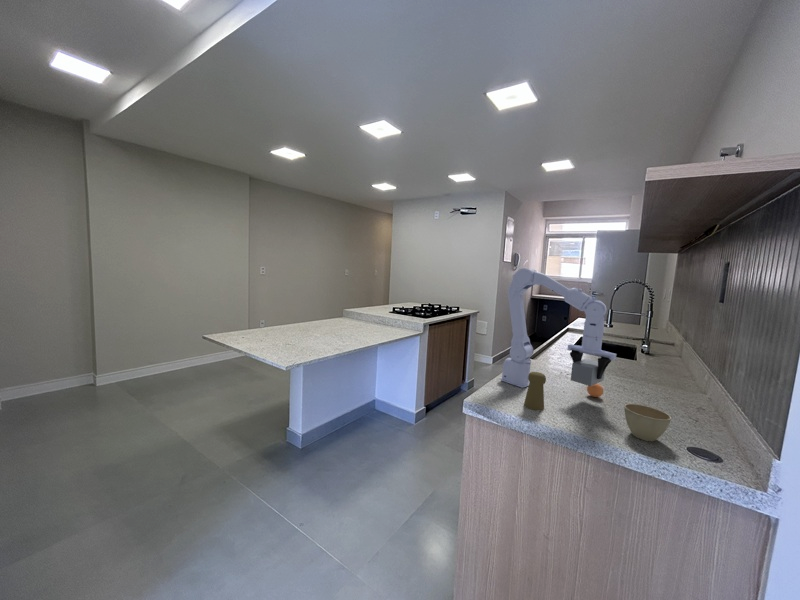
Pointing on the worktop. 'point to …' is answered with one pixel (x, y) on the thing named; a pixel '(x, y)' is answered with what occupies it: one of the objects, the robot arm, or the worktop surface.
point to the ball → (595, 390)
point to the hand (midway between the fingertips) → (587, 375)
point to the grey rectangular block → (585, 372)
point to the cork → (535, 391)
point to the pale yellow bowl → (646, 421)
